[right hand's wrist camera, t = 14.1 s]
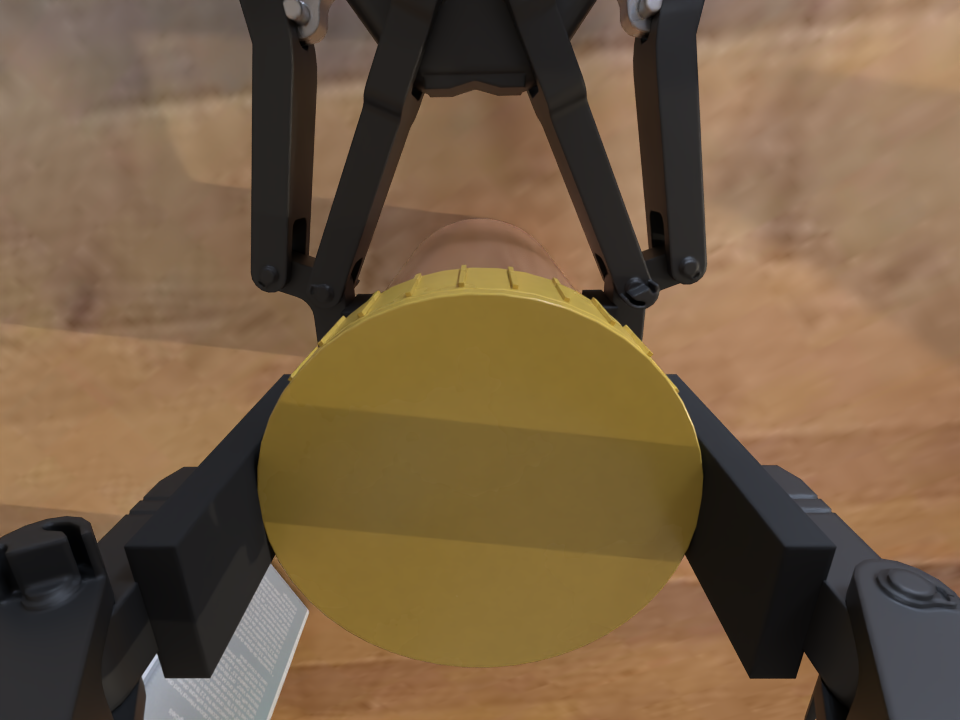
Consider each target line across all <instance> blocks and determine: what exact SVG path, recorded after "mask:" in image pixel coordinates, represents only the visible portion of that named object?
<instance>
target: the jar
mask: <svg viewBox="0 0 960 720" xmlns="http://www.w3.org/2000/svg"><path fill="white" fill-rule="evenodd" d="M461 265H466V266H467V268H500V269H507V270H508V266H510V267H513V269H514V271H520V272H526V273H529V274H533V275H536V276H539V277H543V278H546V279H550V280H552V278H553V277H554V278H556V279H558V281H559V282H560V284H562V285H564V286H566V287H568V288H571V289H573V290H575V289H574V288H573V286H572V285H571V284H570V282H569V281H568V280H567V278H566V277H565V276H564V274H563V273H562V272H561V270H560V269H559V268H558V266H557V265H556V264H555V262H554V261H553V260H552V258H551V257H550V256H549V254H548V253H547V252H546V250H545V249H544V248H543V247H542V246H541V245H540V244H539V242H538V241H537V240H535V239H534V238H533V237H532V236H531V235H529V234H528V233H526V232H525V231H523V230H522V229H520V228H518V227H516V226H514V225H511V224H509V223H506V222H502V221H499V220H493V219H482V218H475V219H467V220H462V221H458V222H454V223H452V224H449V225H447V226H444V227H442V228H441V229H439V230H437V231H435V232H434V233H433V234H431V235H430V236H429V237H427V238H426V239H425V240H424V241H423V242H422V243H421V244H420V245H419V246H418V247H417V249H416V250H415V251H414V253H413V254H412V255H411V257H410V258H409V259H408V261H407V262H406V263H405V265H404V266H403V267H402V269H401V270H400V271H399V272H398V274H397V275H396V276H395V278H394V279H393V280H392V282H391V283H390V284H389V286H388V287H387V288H386V290H388V289H389V288H391V287H393V286H396V285H398V284H401V283H403V282H406V281H409V280H411V279H414V277H415V275H416V274H418V273H421V275H422V276H424V275H428V274H432V273H436V272H440V271H445V270H454V269H461ZM386 290H385V291H386ZM575 291H576V290H575Z"/></svg>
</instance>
